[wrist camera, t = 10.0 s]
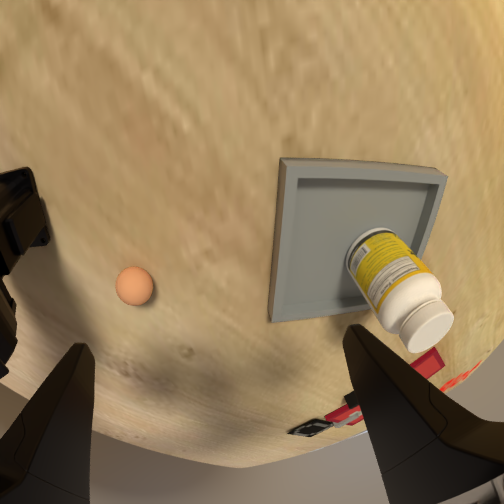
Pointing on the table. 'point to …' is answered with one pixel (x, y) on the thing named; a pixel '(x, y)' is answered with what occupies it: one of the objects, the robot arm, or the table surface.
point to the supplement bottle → (399, 289)
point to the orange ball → (134, 286)
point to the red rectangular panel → (351, 410)
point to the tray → (341, 227)
